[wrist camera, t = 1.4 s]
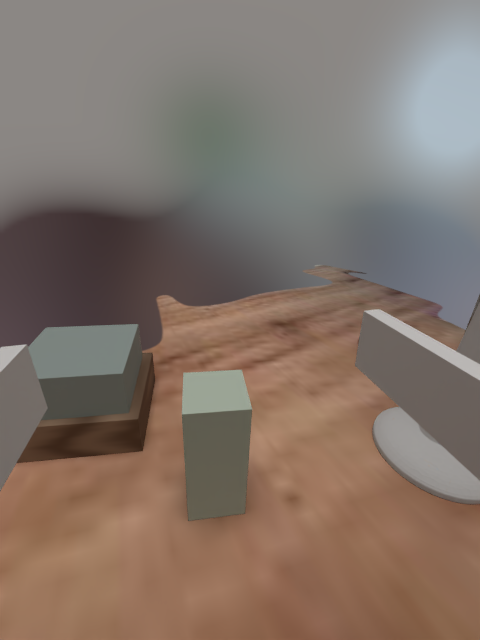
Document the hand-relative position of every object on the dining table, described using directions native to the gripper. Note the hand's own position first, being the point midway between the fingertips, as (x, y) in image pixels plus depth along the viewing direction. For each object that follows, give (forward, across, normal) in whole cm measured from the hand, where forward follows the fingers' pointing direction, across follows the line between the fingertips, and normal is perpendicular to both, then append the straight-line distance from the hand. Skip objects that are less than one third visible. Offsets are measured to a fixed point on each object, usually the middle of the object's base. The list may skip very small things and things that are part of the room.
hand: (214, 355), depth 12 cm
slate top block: (+22, -13, -14) cm, 29 cm away
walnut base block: (+22, -13, -20) cm, 32 cm away
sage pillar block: (+10, 0, -20) cm, 22 cm away
